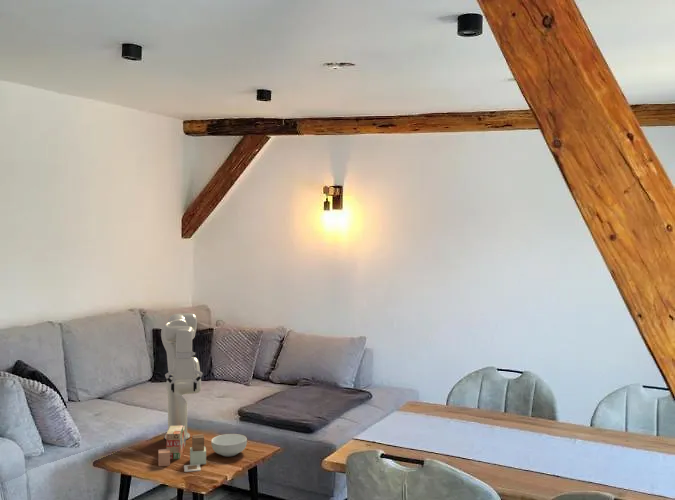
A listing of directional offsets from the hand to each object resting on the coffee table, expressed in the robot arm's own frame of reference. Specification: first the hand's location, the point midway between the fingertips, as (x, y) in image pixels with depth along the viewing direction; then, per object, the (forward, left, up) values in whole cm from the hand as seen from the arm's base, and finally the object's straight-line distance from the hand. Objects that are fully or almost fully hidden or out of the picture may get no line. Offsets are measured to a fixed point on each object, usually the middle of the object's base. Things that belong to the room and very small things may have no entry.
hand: (183, 391), depth 310 cm
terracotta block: (+10, -9, -30) cm, 33 cm away
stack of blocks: (-6, -3, -31) cm, 31 cm away
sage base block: (+11, +6, -31) cm, 33 cm away
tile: (+19, +3, -30) cm, 36 cm away
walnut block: (+11, +6, -24) cm, 27 cm away
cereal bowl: (+3, +21, -31) cm, 37 cm away
